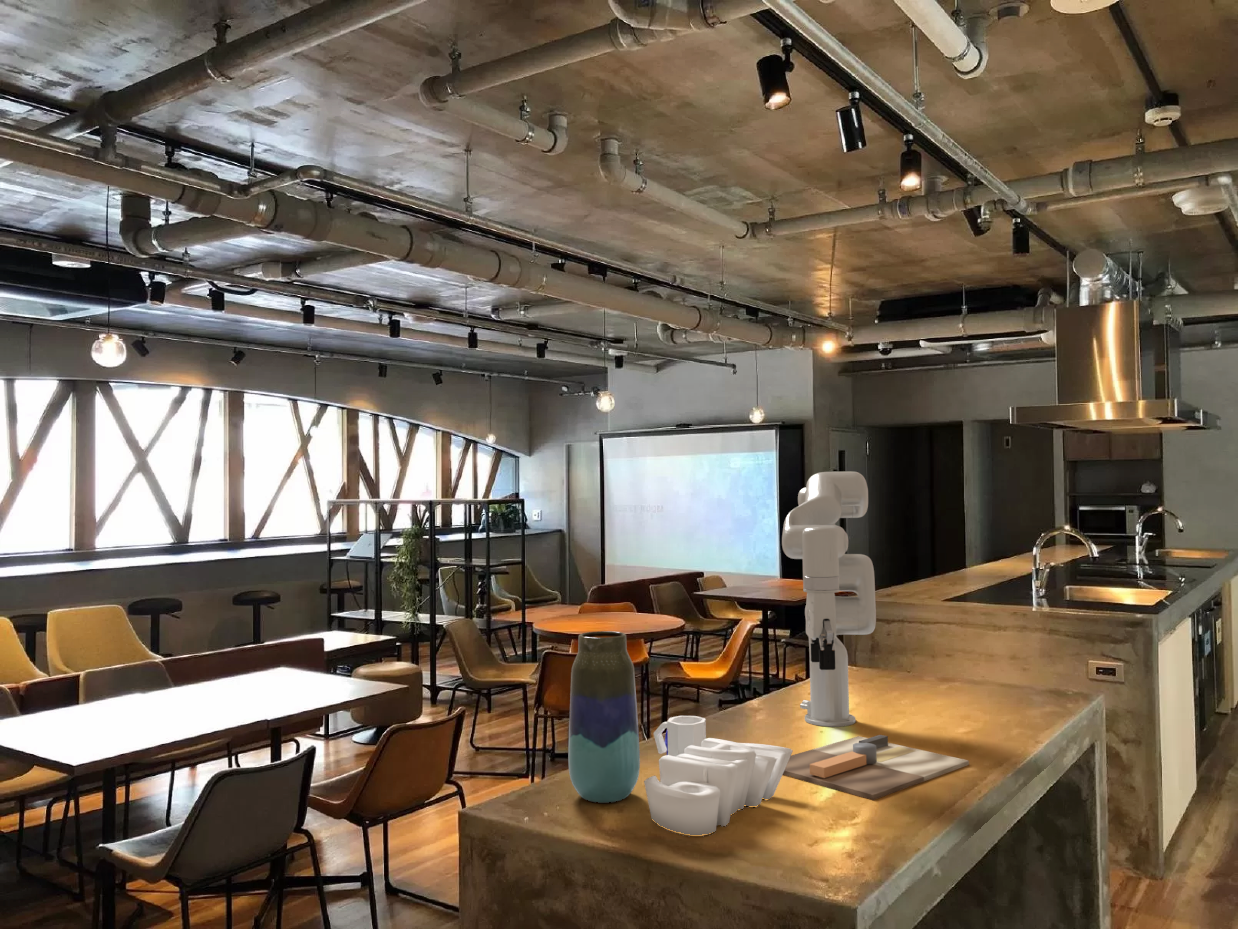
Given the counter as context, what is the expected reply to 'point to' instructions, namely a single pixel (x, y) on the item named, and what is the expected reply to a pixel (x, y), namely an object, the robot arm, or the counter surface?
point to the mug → (681, 734)
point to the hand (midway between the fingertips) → (822, 665)
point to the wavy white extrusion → (713, 783)
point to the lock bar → (845, 761)
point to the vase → (603, 719)
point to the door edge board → (874, 767)
